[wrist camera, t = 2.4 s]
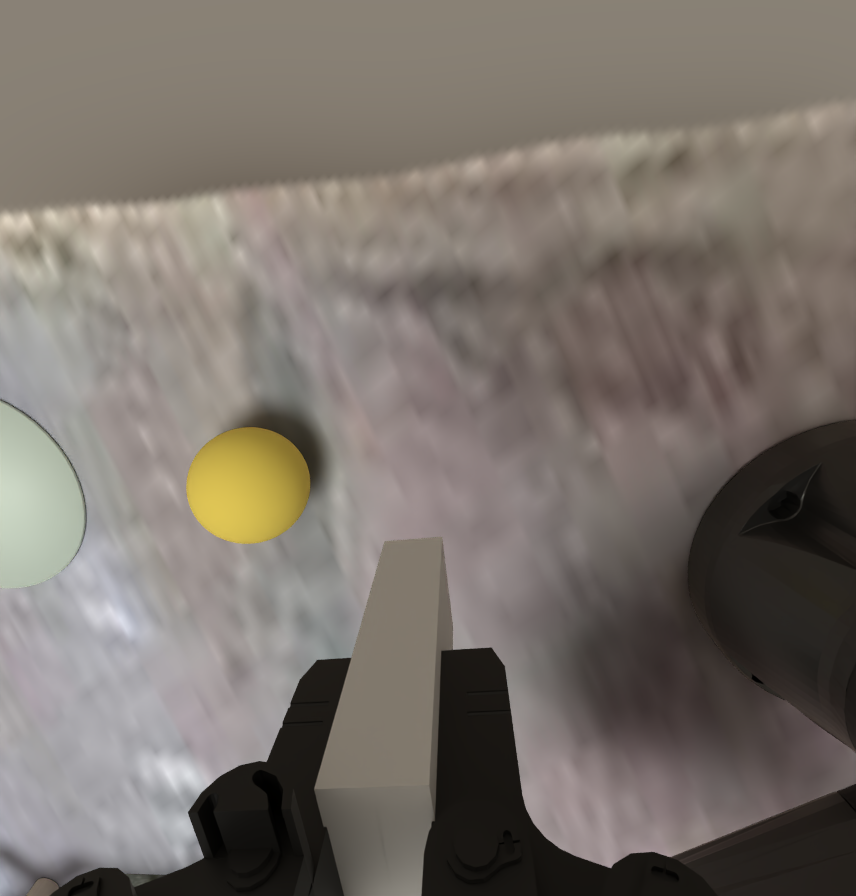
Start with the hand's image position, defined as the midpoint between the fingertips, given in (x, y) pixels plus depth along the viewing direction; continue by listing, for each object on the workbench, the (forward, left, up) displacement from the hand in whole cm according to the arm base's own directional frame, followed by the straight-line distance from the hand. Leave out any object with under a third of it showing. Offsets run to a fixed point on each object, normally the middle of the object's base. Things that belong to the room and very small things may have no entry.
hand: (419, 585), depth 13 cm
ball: (+9, 0, -10) cm, 13 cm away
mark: (+26, 0, -13) cm, 29 cm away
